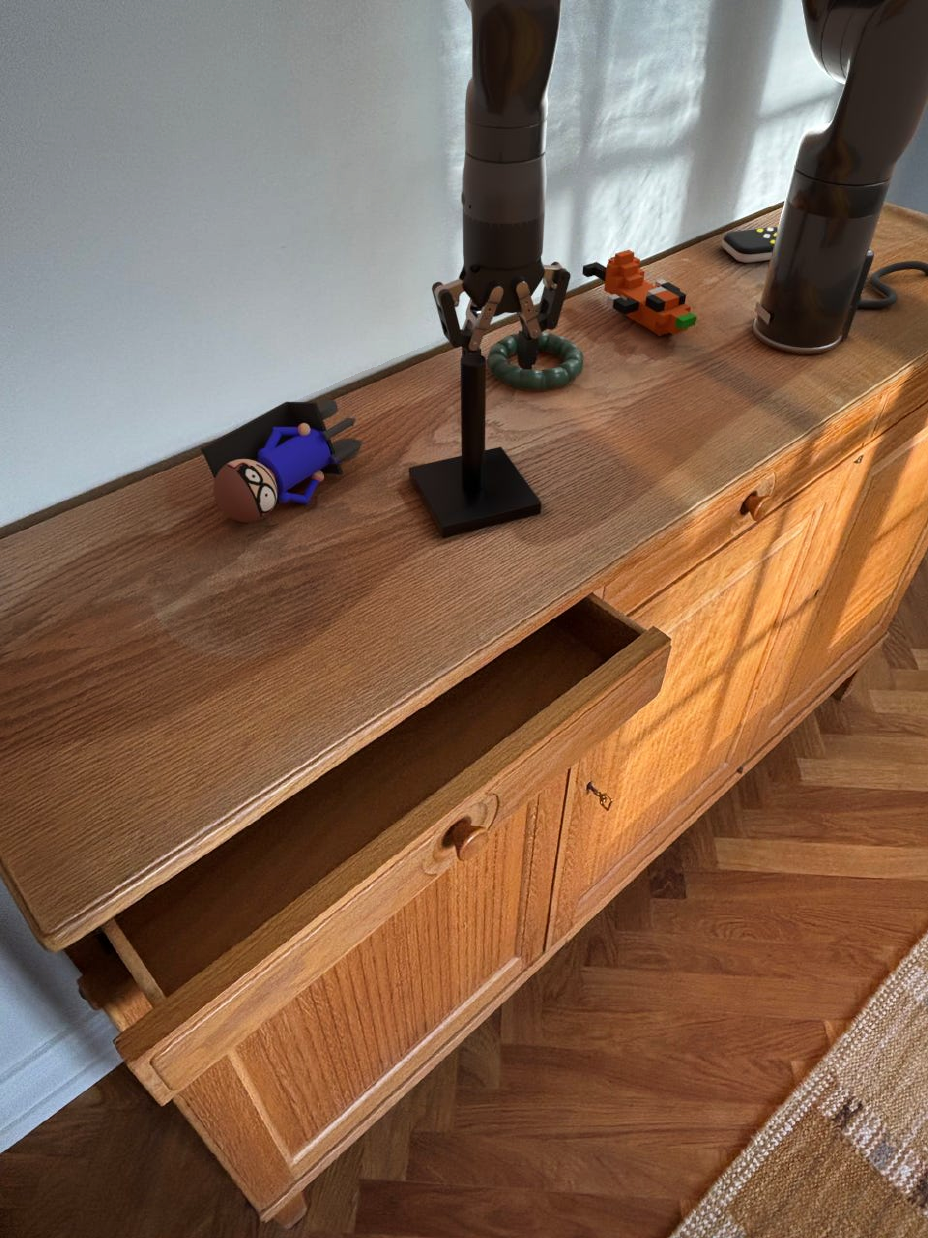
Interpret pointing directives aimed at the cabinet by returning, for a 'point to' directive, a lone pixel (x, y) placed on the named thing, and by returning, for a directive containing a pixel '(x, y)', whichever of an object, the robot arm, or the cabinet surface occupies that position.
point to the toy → (642, 295)
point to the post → (473, 470)
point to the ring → (536, 377)
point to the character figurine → (276, 458)
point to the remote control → (751, 244)
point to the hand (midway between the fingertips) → (499, 372)
